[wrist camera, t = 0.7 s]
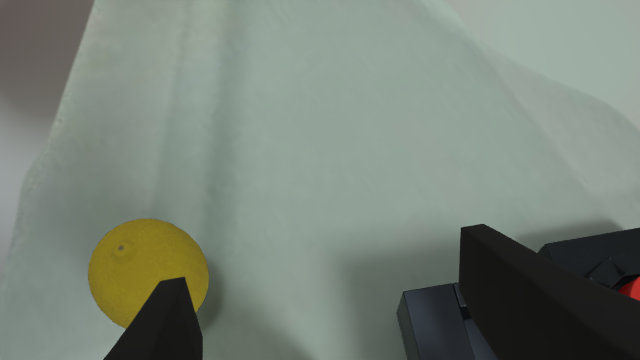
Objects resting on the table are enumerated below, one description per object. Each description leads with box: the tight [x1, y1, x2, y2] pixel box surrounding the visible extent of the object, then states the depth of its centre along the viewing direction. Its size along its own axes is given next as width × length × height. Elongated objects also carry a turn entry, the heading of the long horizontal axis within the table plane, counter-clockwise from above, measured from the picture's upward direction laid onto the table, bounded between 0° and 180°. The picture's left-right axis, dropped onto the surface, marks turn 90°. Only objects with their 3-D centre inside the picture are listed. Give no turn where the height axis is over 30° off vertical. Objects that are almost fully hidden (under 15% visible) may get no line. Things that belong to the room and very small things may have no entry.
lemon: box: [88, 219, 209, 329], centre depth 25 cm, size 6×6×8 cm
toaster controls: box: [538, 228, 640, 292], centre depth 25 cm, size 10×6×3 cm, turn 9°
